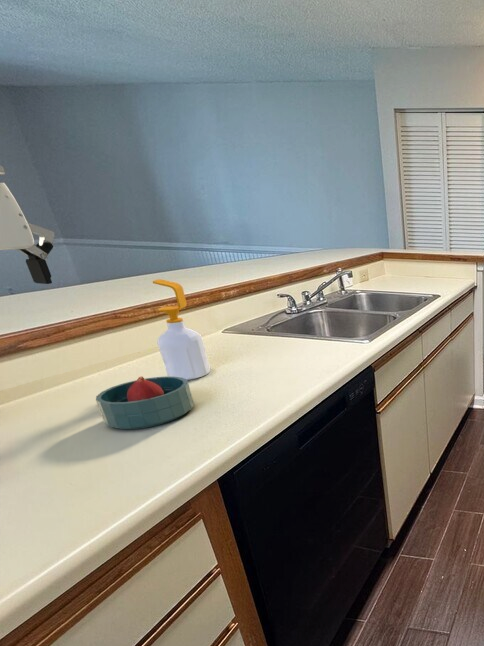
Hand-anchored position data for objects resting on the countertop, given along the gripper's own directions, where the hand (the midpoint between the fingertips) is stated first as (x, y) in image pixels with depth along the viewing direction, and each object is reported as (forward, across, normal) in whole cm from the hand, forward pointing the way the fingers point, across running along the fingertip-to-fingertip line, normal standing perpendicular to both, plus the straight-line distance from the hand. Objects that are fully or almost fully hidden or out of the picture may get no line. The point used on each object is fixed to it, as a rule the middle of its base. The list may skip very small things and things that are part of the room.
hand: (6, 287), depth 68 cm
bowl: (+28, -12, +4) cm, 31 cm away
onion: (+28, -12, +4) cm, 30 cm away
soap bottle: (+28, -33, -10) cm, 45 cm away
